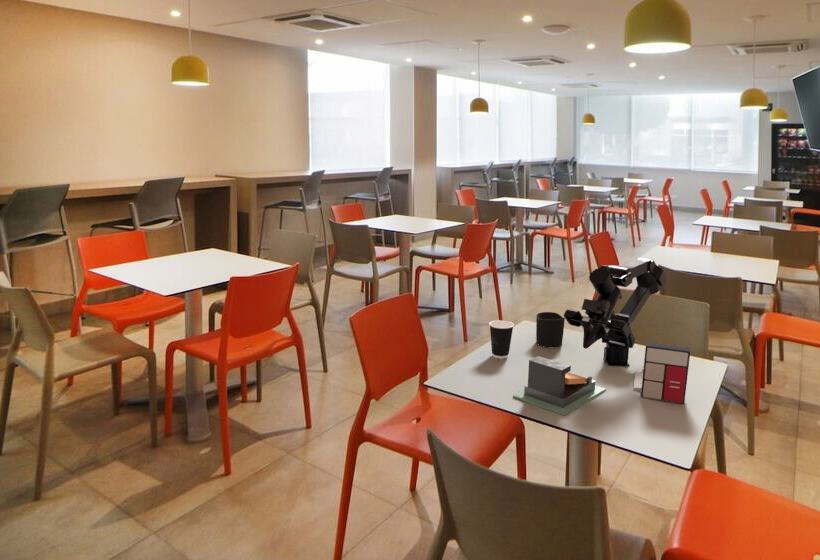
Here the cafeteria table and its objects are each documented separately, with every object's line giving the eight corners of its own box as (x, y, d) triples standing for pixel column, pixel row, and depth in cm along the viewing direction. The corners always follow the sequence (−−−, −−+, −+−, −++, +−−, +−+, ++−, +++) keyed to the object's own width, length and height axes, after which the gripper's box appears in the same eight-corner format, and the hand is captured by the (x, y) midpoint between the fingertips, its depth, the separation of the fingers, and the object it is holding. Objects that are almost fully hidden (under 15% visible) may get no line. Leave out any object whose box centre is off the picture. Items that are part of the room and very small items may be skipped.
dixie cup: (516, 354, 201) (517, 322, 199) (507, 362, 194) (509, 329, 192) (493, 350, 205) (494, 318, 202) (484, 357, 198) (485, 325, 196)
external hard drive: (664, 380, 182) (664, 396, 171) (634, 376, 185) (633, 392, 174) (664, 375, 182) (664, 391, 171) (635, 371, 185) (633, 386, 174)
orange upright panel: (556, 368, 178) (536, 368, 170) (588, 377, 171) (569, 378, 163) (555, 373, 178) (535, 374, 170) (587, 383, 171) (567, 384, 163)
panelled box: (640, 398, 168) (645, 346, 165) (641, 392, 172) (646, 341, 169) (684, 405, 164) (690, 352, 161) (684, 399, 168) (690, 347, 164)
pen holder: (565, 341, 214) (567, 314, 211) (559, 350, 206) (561, 321, 203) (538, 337, 218) (540, 310, 215) (532, 346, 209) (533, 317, 207)
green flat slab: (555, 375, 184) (555, 373, 184) (605, 390, 173) (605, 388, 173) (512, 397, 169) (513, 395, 169) (564, 415, 158) (564, 413, 158)
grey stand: (557, 377, 181) (559, 344, 178) (594, 389, 173) (597, 354, 170) (524, 394, 169) (525, 359, 167) (562, 408, 161) (565, 371, 158)
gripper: (568, 282, 183) (546, 326, 178) (628, 293, 170) (606, 341, 165) (580, 302, 190) (559, 345, 185) (638, 314, 178) (618, 361, 173)
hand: (584, 347), depth 177 cm, fingers closed
